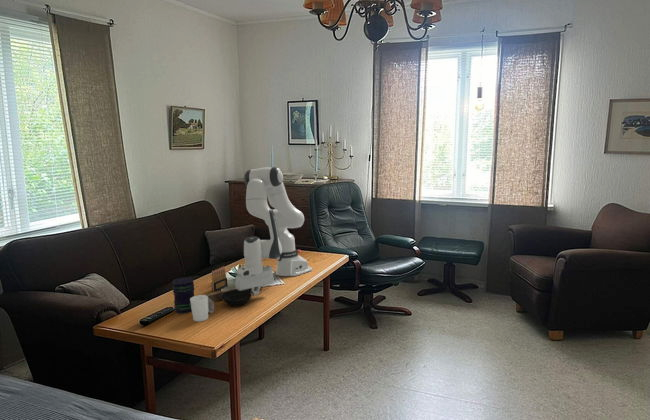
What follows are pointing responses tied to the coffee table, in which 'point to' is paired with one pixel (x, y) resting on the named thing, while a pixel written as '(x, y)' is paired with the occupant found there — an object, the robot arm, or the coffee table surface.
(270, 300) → the coffee table surface
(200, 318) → the white cup
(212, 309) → the bracket
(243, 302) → the oil lamp
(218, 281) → the ammunition clip
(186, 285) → the storage jar
